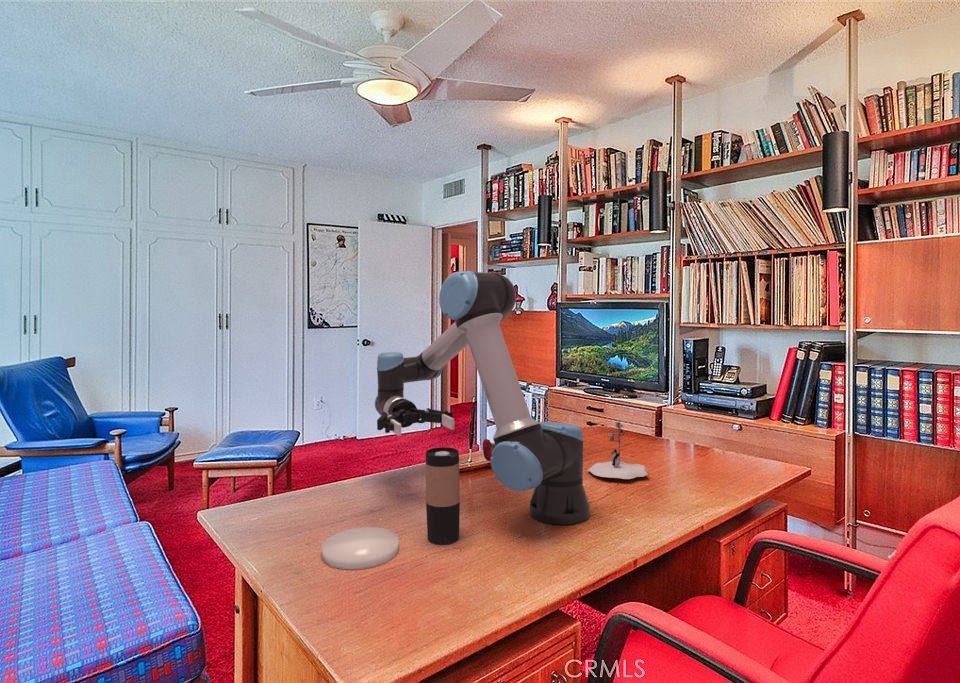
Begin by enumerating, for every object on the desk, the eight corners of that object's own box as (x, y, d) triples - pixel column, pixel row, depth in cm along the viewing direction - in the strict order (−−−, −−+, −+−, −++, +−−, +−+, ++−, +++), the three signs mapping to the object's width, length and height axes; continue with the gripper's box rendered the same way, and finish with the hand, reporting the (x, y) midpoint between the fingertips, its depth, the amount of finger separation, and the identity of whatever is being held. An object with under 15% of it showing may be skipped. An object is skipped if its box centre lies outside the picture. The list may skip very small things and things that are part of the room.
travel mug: (426, 531, 124) (425, 447, 123) (459, 530, 124) (458, 446, 123) (426, 546, 116) (424, 456, 115) (461, 544, 117) (460, 455, 116)
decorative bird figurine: (479, 471, 170) (478, 440, 169) (497, 456, 186) (497, 428, 185) (487, 472, 169) (487, 441, 168) (505, 457, 185) (505, 429, 184)
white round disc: (413, 544, 117) (413, 535, 117) (364, 576, 103) (363, 566, 103) (358, 530, 125) (358, 522, 125) (305, 558, 111) (305, 549, 111)
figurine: (641, 485, 152) (642, 428, 153) (580, 476, 161) (581, 422, 162) (656, 473, 170) (656, 422, 170) (600, 466, 179) (601, 417, 179)
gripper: (442, 420, 152) (473, 436, 133) (355, 429, 142) (376, 448, 123) (442, 394, 152) (473, 407, 133) (355, 402, 141) (375, 416, 122)
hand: (427, 427), depth 128 cm, fingers open, 13 cm apart
